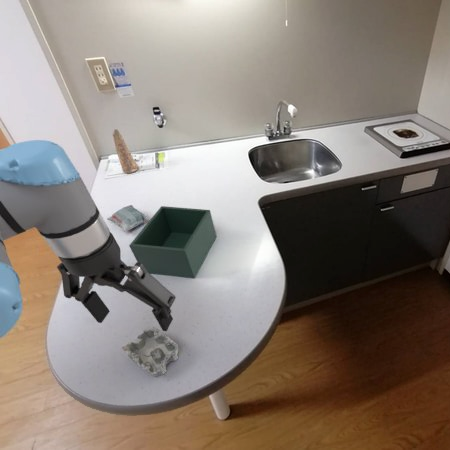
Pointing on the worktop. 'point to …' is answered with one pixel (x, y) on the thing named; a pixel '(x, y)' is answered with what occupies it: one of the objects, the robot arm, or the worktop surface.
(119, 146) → the brown tapered cone
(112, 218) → the packaged food
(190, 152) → the worktop surface
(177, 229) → the trash bin
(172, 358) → the egg carton
